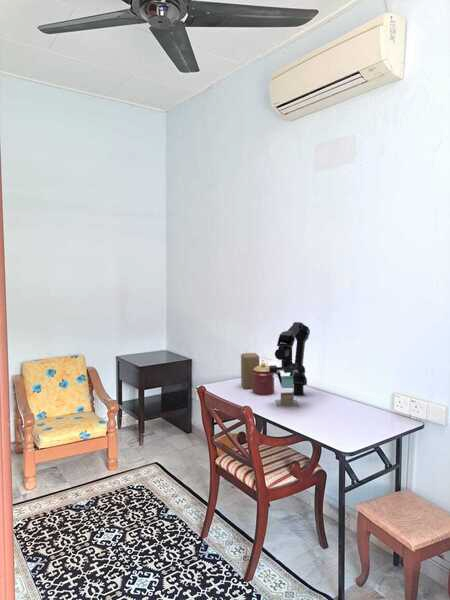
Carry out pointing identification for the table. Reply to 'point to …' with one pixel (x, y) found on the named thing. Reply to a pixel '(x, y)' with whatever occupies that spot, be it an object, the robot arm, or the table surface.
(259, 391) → the canister
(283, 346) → the robot arm
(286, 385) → the teal block
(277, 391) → the table surface
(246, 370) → the wooden block
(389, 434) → the table surface
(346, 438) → the table surface
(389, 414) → the table surface
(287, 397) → the walnut block
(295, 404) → the mat
